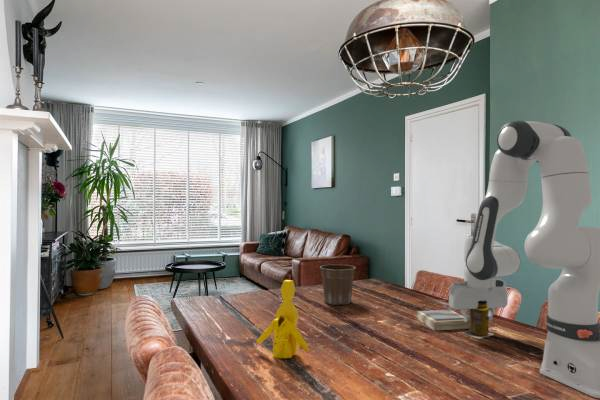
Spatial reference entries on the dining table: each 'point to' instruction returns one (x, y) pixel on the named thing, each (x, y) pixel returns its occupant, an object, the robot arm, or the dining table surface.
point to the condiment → (479, 321)
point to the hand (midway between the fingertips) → (478, 321)
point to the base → (442, 319)
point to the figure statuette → (285, 326)
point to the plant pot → (337, 283)
